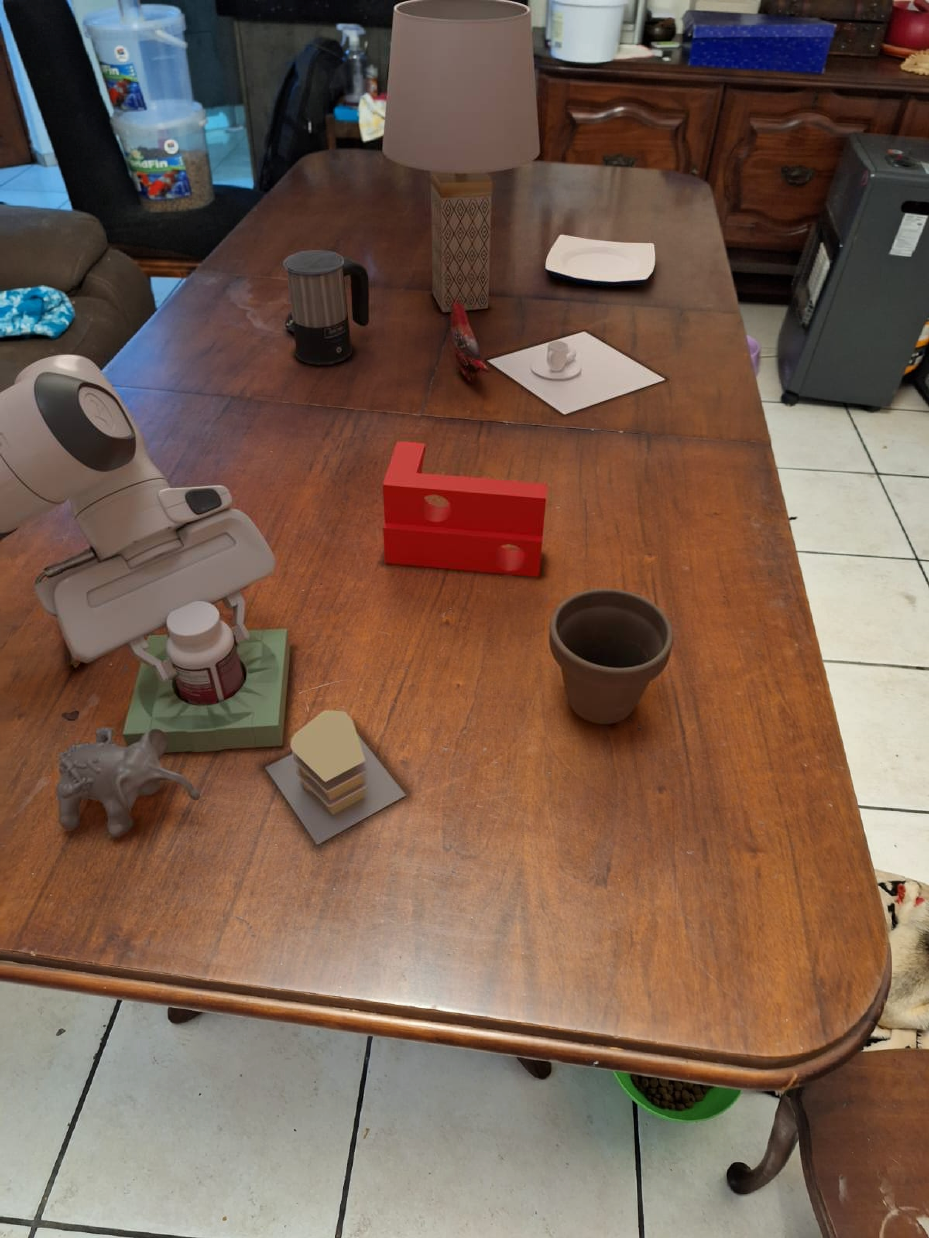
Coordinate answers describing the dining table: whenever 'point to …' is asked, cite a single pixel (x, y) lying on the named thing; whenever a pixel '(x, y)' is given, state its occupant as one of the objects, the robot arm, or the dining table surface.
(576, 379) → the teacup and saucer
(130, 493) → the robot arm
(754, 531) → the dining table surface
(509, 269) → the dining table surface
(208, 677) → the pill bottle
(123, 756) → the gray elephant figurine
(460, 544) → the bracket
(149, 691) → the socket pad
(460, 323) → the decorative bird figurine
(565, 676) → the flower pot
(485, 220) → the lamp
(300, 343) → the milk frother
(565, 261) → the plate
